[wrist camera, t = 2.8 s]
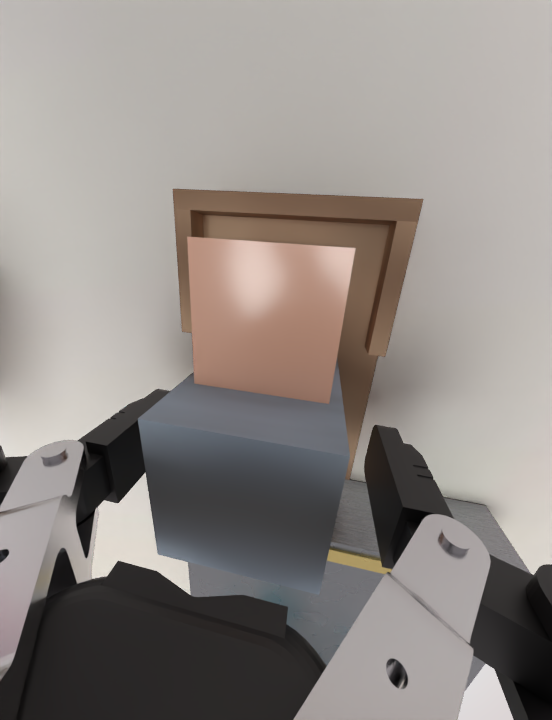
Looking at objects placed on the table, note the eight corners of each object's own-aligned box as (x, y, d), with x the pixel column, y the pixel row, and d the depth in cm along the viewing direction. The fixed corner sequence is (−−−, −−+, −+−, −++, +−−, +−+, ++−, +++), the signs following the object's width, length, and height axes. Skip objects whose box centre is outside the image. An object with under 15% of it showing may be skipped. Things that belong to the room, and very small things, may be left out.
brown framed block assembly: (346, 450, 15) (367, 642, 7) (215, 427, 16) (118, 574, 9) (395, 216, 11) (574, 102, 3) (211, 207, 12) (2, 107, 4)
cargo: (238, 246, 10) (187, 236, 6) (343, 253, 9) (355, 248, 6) (236, 344, 11) (194, 383, 8) (327, 355, 11) (329, 404, 7)
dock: (214, 454, 17) (182, 510, 13) (485, 505, 14) (542, 591, 11) (217, 585, 22) (195, 653, 18) (417, 638, 20) (439, 728, 16)
